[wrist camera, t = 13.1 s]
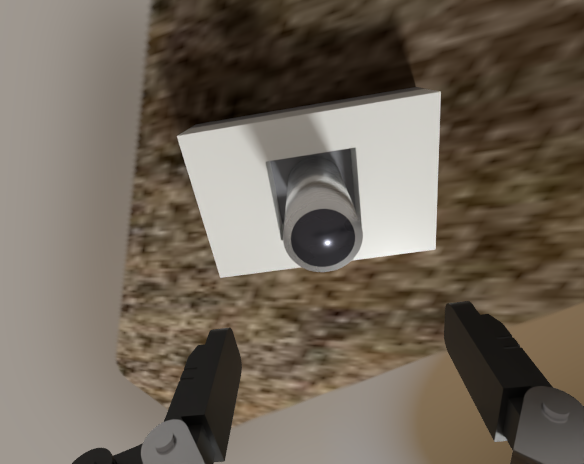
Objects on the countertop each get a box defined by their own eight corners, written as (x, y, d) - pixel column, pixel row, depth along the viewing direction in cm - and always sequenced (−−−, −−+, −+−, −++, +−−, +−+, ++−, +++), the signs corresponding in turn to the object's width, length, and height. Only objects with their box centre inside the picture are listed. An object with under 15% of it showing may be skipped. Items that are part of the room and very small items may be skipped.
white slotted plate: (416, 87, 26) (440, 91, 22) (415, 223, 32) (435, 249, 27) (195, 124, 28) (176, 136, 23) (230, 248, 33) (220, 277, 29)
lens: (339, 152, 27) (360, 196, 18) (344, 205, 29) (365, 268, 20) (283, 161, 27) (276, 208, 18) (292, 212, 29) (289, 277, 20)
